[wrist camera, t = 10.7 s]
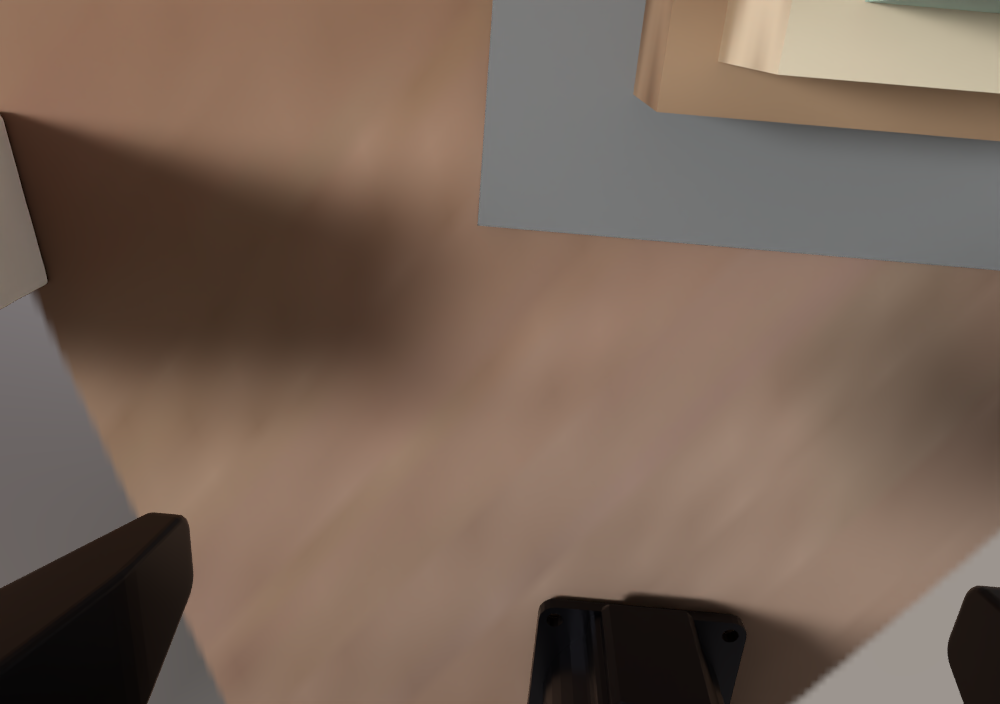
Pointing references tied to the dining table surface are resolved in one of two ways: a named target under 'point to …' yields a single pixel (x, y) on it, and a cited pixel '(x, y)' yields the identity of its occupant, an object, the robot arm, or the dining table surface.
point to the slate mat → (707, 158)
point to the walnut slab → (786, 85)
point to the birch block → (865, 42)
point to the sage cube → (950, 4)
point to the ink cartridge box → (16, 233)
